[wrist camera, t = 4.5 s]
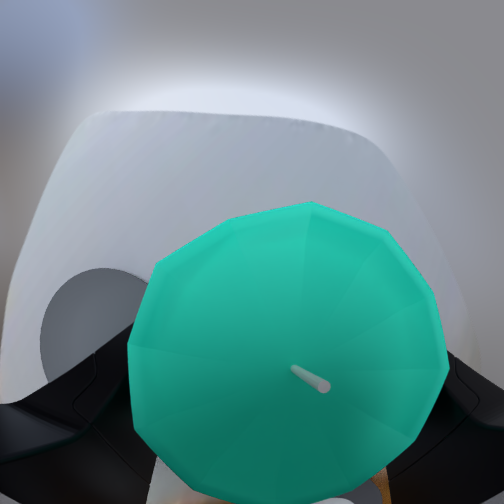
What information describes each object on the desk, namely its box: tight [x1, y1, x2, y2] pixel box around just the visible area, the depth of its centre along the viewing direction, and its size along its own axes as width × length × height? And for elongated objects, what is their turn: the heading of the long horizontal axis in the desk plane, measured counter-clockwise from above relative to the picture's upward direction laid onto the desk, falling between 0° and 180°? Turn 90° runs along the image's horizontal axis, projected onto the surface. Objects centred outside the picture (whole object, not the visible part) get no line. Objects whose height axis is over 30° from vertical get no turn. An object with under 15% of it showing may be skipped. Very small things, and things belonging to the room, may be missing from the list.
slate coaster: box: [40, 268, 148, 383], centre depth 15 cm, size 11×11×1 cm
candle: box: [127, 201, 450, 504], centre depth 8 cm, size 6×6×12 cm
